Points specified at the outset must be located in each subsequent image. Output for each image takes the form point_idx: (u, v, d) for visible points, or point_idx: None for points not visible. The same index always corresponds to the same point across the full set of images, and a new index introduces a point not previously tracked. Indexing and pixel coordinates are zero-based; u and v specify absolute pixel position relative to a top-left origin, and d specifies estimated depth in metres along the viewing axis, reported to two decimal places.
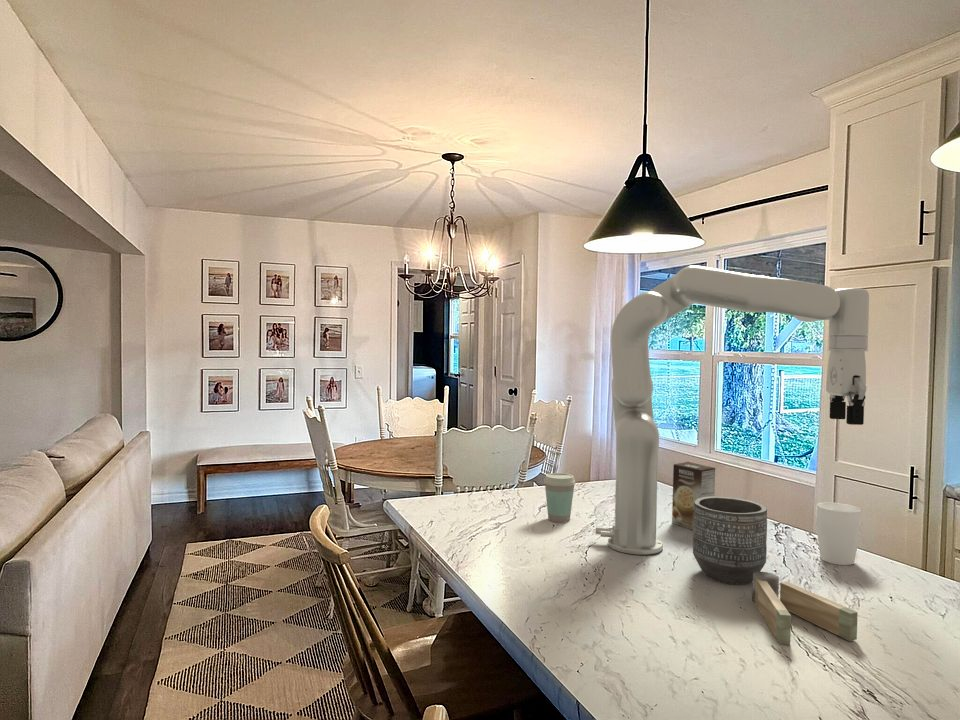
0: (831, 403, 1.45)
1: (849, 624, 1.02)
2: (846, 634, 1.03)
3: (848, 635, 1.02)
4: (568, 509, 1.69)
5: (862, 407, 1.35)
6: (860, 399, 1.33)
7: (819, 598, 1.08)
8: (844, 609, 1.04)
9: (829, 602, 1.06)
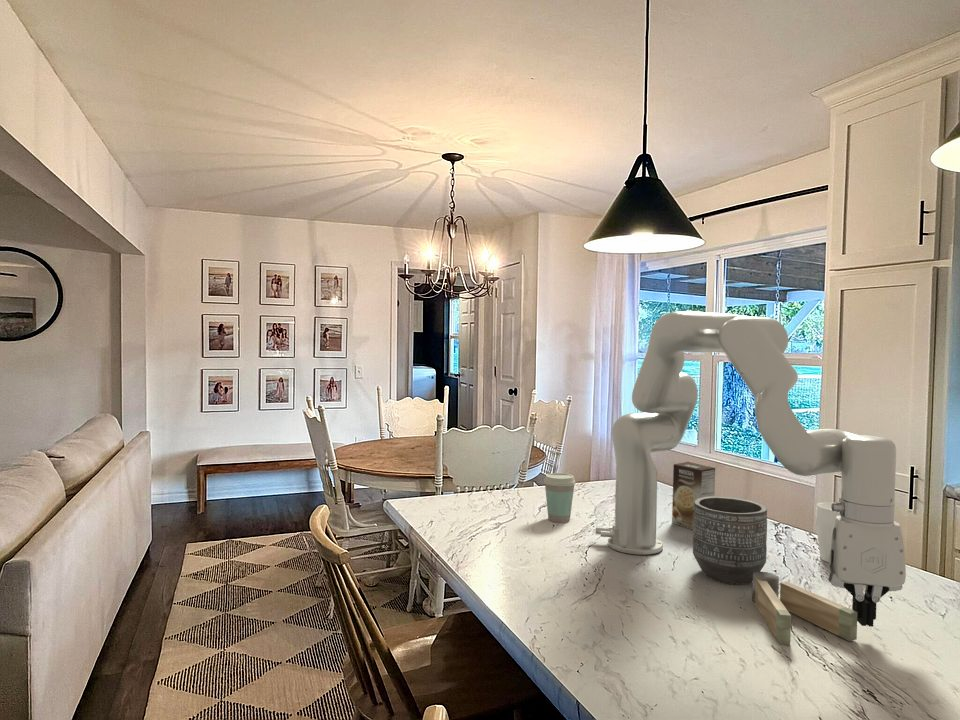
0: (866, 604, 1.02)
1: (849, 624, 1.02)
2: (846, 634, 1.03)
3: (848, 635, 1.02)
4: (568, 509, 1.69)
5: None
6: None
7: (819, 598, 1.08)
8: (844, 609, 1.04)
9: (829, 602, 1.06)
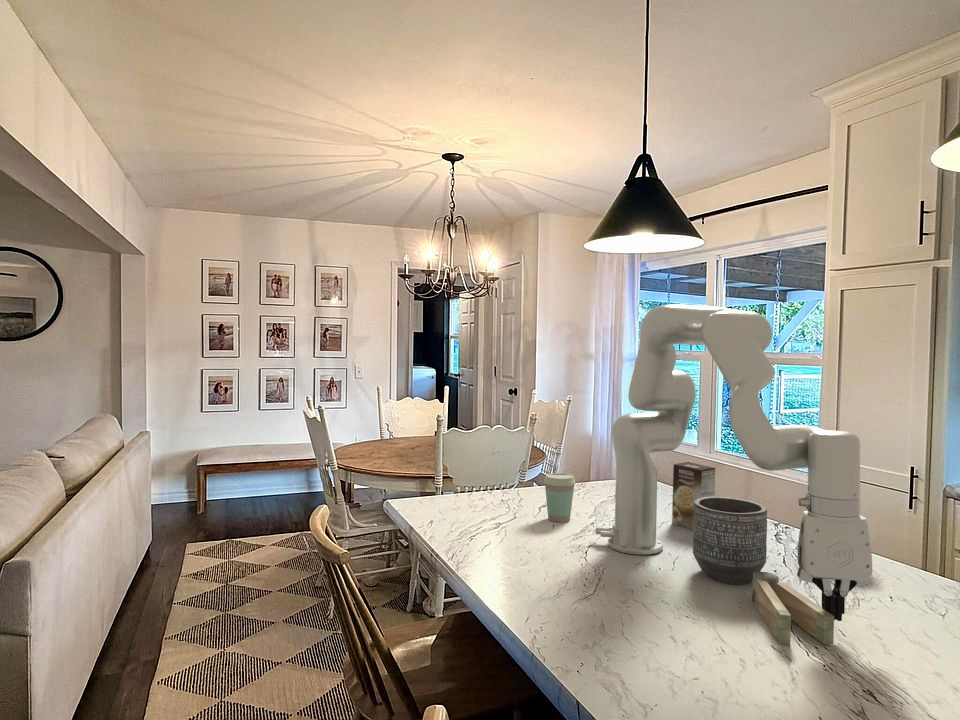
0: (834, 599, 1.03)
1: (824, 627, 1.01)
2: (821, 637, 1.01)
3: (823, 638, 1.01)
4: (568, 509, 1.69)
5: None
6: None
7: (804, 600, 1.07)
8: (821, 612, 1.02)
9: (811, 605, 1.05)
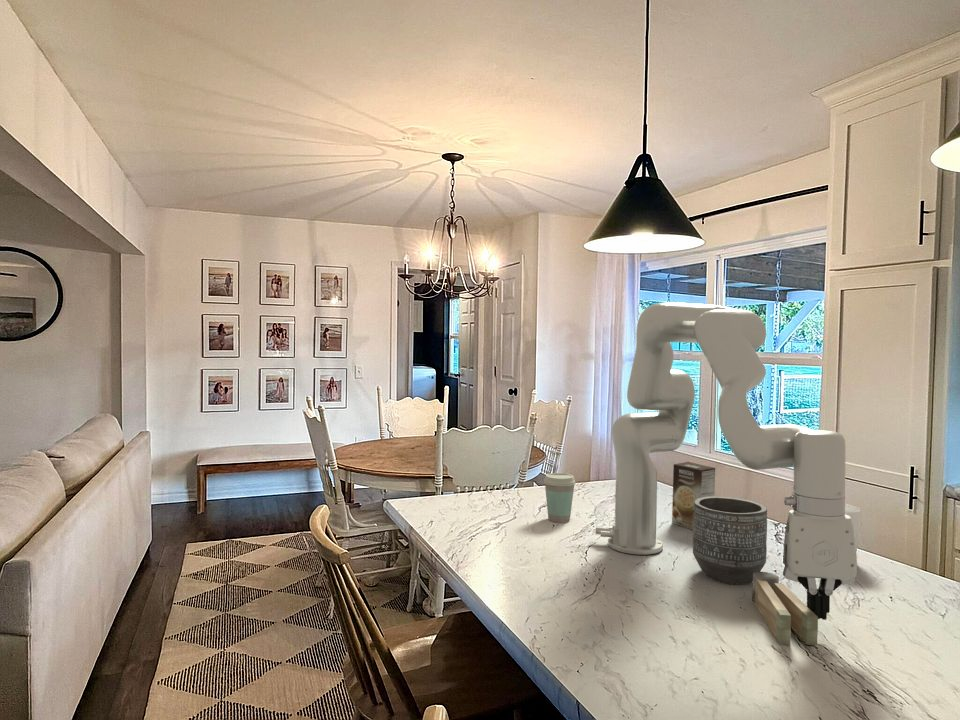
0: (819, 598, 1.03)
1: (807, 627, 1.01)
2: (805, 637, 1.01)
3: (806, 638, 1.01)
4: (568, 509, 1.69)
5: None
6: None
7: (794, 600, 1.07)
8: (806, 612, 1.02)
9: (799, 605, 1.05)
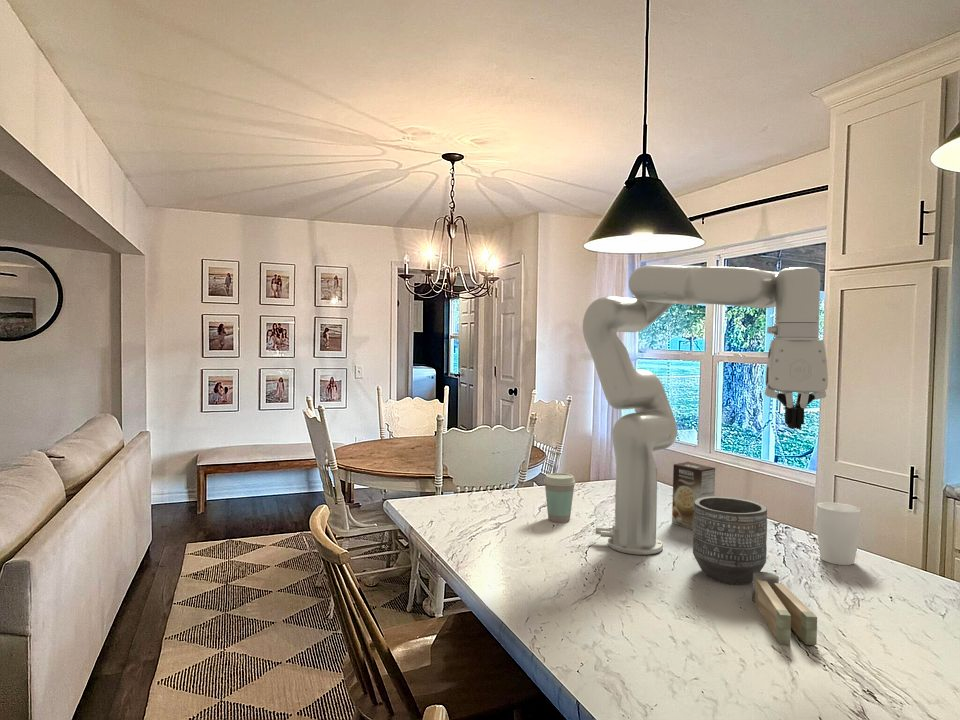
0: (795, 410, 1.20)
1: (806, 627, 1.01)
2: (804, 637, 1.01)
3: (805, 638, 1.01)
4: (568, 509, 1.69)
5: None
6: None
7: (794, 600, 1.07)
8: (806, 612, 1.02)
9: (799, 605, 1.05)
